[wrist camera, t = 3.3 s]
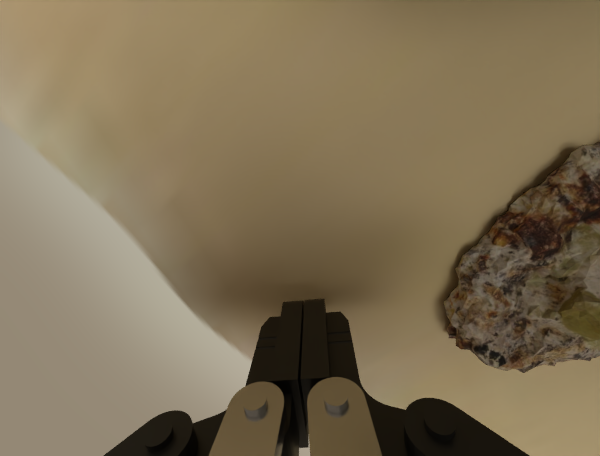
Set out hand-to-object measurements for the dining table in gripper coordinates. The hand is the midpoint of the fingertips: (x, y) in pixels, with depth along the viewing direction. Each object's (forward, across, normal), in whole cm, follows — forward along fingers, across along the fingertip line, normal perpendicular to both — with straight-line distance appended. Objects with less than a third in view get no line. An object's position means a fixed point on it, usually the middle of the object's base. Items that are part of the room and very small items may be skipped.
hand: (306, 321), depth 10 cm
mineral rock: (+2, -10, -1) cm, 10 cm away
